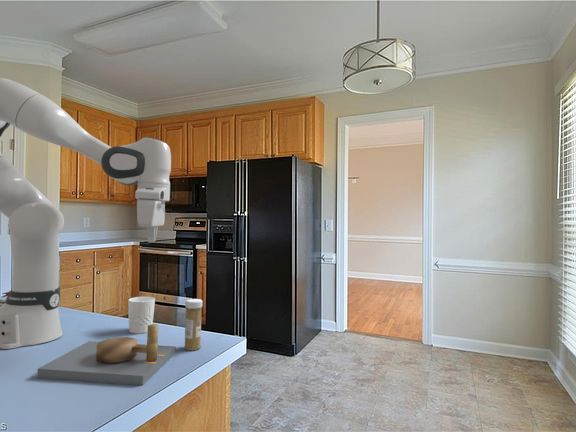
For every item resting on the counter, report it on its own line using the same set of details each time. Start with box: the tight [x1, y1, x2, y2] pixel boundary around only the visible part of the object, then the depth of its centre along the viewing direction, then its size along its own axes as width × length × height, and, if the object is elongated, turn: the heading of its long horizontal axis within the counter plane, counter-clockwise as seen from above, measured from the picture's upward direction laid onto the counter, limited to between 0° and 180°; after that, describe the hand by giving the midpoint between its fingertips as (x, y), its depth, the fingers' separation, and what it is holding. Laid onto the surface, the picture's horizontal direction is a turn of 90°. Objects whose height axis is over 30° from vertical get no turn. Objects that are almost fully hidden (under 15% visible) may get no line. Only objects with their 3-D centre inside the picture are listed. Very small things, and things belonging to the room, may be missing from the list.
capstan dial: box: [96, 323, 159, 363], centre depth 85 cm, size 15×9×8 cm, turn 82°
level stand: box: [36, 340, 176, 386], centre depth 86 cm, size 24×18×2 cm
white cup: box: [127, 296, 156, 335], centre depth 112 cm, size 8×8×10 cm
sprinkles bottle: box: [184, 298, 203, 351], centre depth 99 cm, size 5×5×14 cm
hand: (151, 242), depth 102 cm, fingers closed
